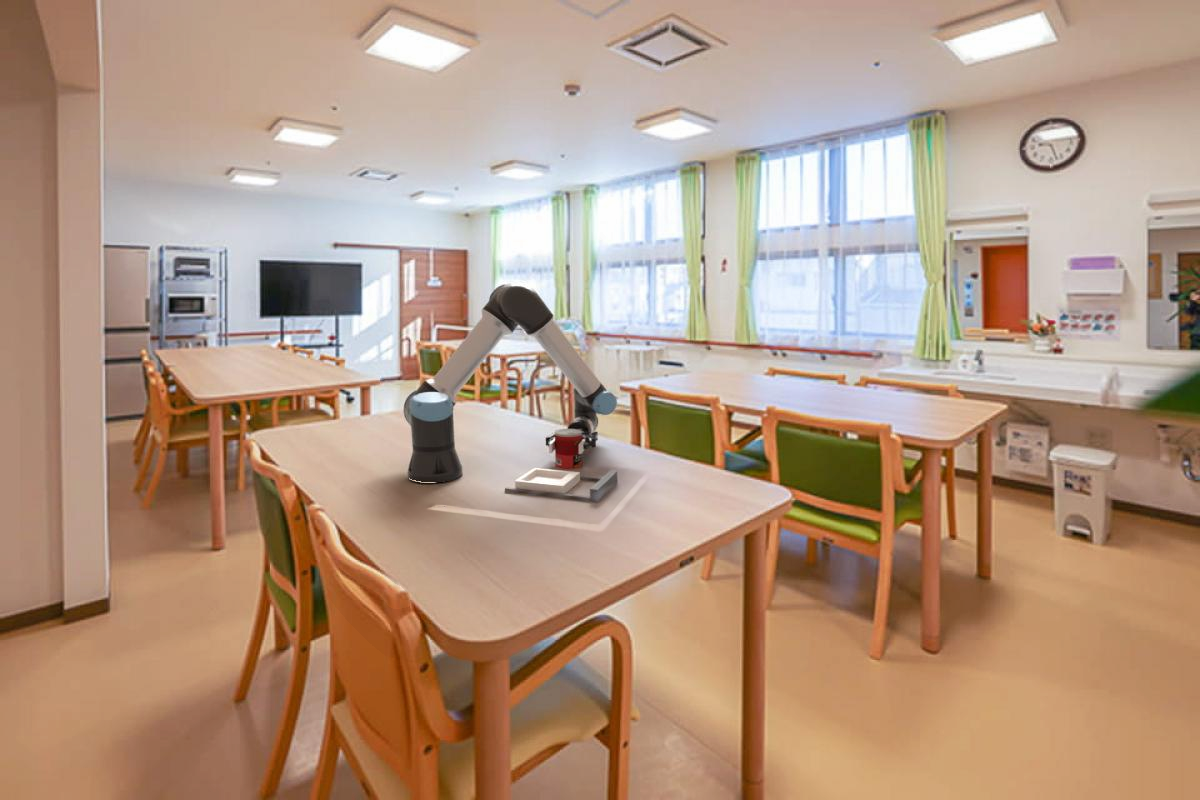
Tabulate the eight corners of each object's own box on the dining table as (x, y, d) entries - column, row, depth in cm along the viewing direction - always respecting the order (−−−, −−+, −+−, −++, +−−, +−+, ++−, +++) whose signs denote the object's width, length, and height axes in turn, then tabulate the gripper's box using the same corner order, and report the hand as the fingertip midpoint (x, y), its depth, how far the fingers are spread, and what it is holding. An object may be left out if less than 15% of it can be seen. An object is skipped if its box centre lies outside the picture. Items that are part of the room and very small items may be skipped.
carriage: (515, 490, 159) (514, 480, 158) (534, 476, 170) (534, 467, 169) (563, 495, 154) (563, 486, 154) (580, 481, 166) (579, 472, 165)
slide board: (505, 495, 158) (504, 479, 157) (531, 477, 173) (531, 462, 172) (603, 507, 149) (603, 490, 148) (622, 486, 164) (622, 471, 163)
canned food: (579, 472, 176) (578, 435, 174) (552, 470, 178) (551, 434, 176) (584, 464, 183) (584, 429, 181) (559, 463, 185) (558, 428, 183)
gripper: (611, 442, 196) (600, 462, 174) (548, 440, 199) (530, 460, 177) (611, 420, 194) (600, 437, 172) (548, 418, 198) (529, 435, 175)
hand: (565, 448), depth 175 cm, fingers closed on canned food, 8 cm apart
